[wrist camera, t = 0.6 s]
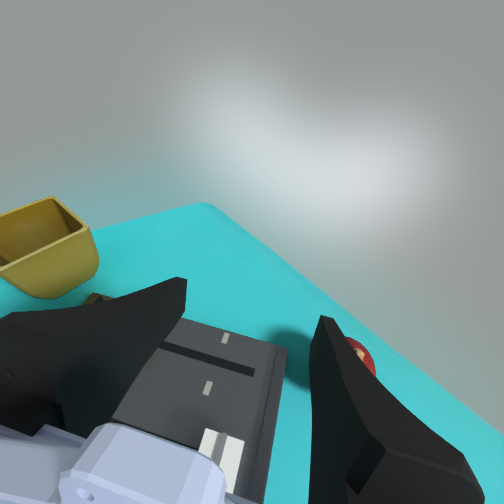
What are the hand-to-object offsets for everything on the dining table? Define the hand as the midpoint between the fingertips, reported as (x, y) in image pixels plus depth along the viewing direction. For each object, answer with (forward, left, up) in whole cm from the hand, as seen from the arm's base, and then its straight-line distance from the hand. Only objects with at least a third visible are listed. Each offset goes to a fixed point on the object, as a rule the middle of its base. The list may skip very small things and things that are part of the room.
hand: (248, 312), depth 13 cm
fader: (-6, 0, -15) cm, 16 cm away
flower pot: (+7, +26, -17) cm, 32 cm away
